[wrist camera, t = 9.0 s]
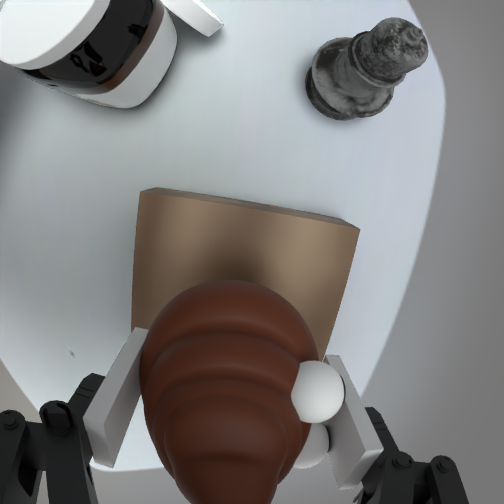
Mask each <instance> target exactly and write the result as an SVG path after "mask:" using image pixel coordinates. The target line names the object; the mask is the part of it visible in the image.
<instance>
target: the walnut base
mask: <svg viewBox="0 0 504 504" xmlns="http://www.w3.org/2000/svg"><path fill="white" fill-rule="evenodd" d="M359 232H360V229H359V228H357V227H355V226H354V225H352V224H350V223H348V222H346V221H344V220H342V219H339V218H334V217H329V216H324V215H319V214H314V213H309V212H304V211H299V210H293V209H288V208H283V207H277V206H272V205H266V204H260V203H255V202H249V201H243V200H237V199H231V198H225V197H218V196H212V195H206V194H199V193H192V192H185V191H179V190H171V189H164V188H153V189H149V190H145V191H141V192H140V198H139V207H138V216H137V226H136V237H135V250H134V265H133V285H132V324H131V333H132V332H133V330H134V328H135V327H138V328H142V329H147V330H149V329H150V327H151V325H152V323H153V321H154V320H155V318H156V317H157V315H158V314H159V312H160V311H161V310H162V309H163V308H164V306H165V305H166V304H167V303H168V302H170V301H171V300H172V299H173V298H174V297H176V296H177V295H178V294H180V293H181V292H183V291H185V290H187V289H189V288H191V287H193V286H196V285H198V284H202V283H205V282H210V281H216V280H240V281H247V282H251V283H255V284H258V285H261V286H264V287H266V288H268V289H270V290H272V291H274V292H276V293H278V294H279V295H281V296H282V297H283V298H285V299H286V300H287V301H288V302H289V303H291V304H292V305H293V306H294V307H295V309H296V310H297V311H298V312H299V313H300V315H301V316H302V317H303V319H304V320H305V322H306V324H307V325H308V327H309V329H310V331H311V333H312V336H313V338H314V341H315V344H316V347H317V351H318V355H319V360H318V361H320V362H322V360H323V357H324V355H325V352H326V349H327V346H328V343H329V339H330V336H331V333H332V330H333V327H334V324H335V321H336V317H337V314H338V311H339V307H340V304H341V301H342V297H343V294H344V290H345V287H346V283H347V279H348V276H349V272H350V268H351V264H352V261H353V257H354V253H355V249H356V245H357V241H358V236H359Z"/></svg>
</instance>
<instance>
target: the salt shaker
mask: <svg viewBox="0 0 504 504" xmlns="http://www.w3.org/2000/svg"><path fill="white" fill-rule="evenodd" d="M427 57H428V45H427V41H426V38H425V36H424V35H423V32H422V30H421V29H419V28H417V27H416V26H415V25H414V24H412V23H411V22H409V21H407V20H404V19H401V18H388V19H385V20H382V21H381V22H380V23H378V24H377V25H376V26H375V27H374V28H373V29H372V30H371V31H365V32H362V33H359V34H357V35H356V36H355V37H353V38H348V37H344V38H336V39H333V40H330V41H328V42H326V43H325V44H324V45H322V46H321V47H320V48H319V50H318V51H317V53H316V54H315V56H314V59H313V63H312V66H311V68H310V69H309V71H308V73H307V76H306V80H305V82H306V91H307V95H308V97H309V99H310V101H311V102H312V104H313V105H314V106H315V107H316V108H317V109H318V110H319V111H320V112H321V113H323V114H324V115H326V116H327V117H330V118H333V119H336V120H349V119H354V118H356V117H360V118H364V117H370V116H374V115H376V114H378V113H380V112H382V111H383V110H384V109H385V108H386V107H387V106H388V105H389V103H390V101H391V99H392V97H393V92H394V86H397V85H399V84H400V83H401V82H402V81H403V80H404V78H405V76H406V73H408V72H410V71H412V70H414V69H416V68H418V67H420V66H421V65H422V64H423V63H424V62H425V61H426V59H427Z"/></svg>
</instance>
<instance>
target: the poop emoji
mask: <svg viewBox="0 0 504 504" xmlns="http://www.w3.org/2000/svg"><path fill="white" fill-rule="evenodd" d="M318 360H319V355H318V351H317V347H316V344H315V341H314V338H313V336H312V333H311V331H310V329H309V327H308V325H307V324H306V322H305V320H304V319H303V317H302V316H301V315H300V313H299V312H298V311H297V310H296V309H295V307H294V306H293V305H292V304H291V303H289V302H288V301H287V300H286V299H285V298H283V297H282V296H281V295H279V294H278V293H276V292H274V291H272V290H270V289H268V288H266V287H264V286H261V285H258V284H255V283H251V282H247V281H240V280H216V281H210V282H205V283H202V284H198V285H196V286H193V287H191V288H189V289H187V290H185V291H183V292H181V293H180V294H178V295H177V296H176V297H174V298H173V299H172V300H171V301H170V302H168V303H167V304H166V305H165V306H164V308H163V309H162V310H161V311H160V312H159V314H158V315H157V317H156V318H155V320H154V321H153V323H152V325H151V327H150V329H149V331H148V333H147V336H146V338H145V341H144V345H143V348H142V353H141V359H140V370H139V377H140V389H141V395H142V400H143V404H144V415H145V420H146V425H147V428H148V431H149V434H150V437H151V439H152V442H153V444H154V446H155V448H156V451H157V454H158V456H159V458H160V460H161V462H162V464H163V465H164V467H165V469H166V470H167V471H168V472H169V474H170V475H171V476H172V477H173V479H175V482H176V484H177V486H178V488H179V490H180V491H181V493H182V494H183V495H184V496H185V498H186V499H187V500H188V501H189V502H190V503H191V504H270V503H271V501H272V499H273V497H274V495H275V491H276V488H277V485H278V484H279V483H280V482H281V481H282V480H283V479H284V478H285V477H286V476H287V474H288V473H289V471H290V470H291V468H292V467H295V468H309V467H312V466H314V465H316V464H317V463H319V462H320V461H321V460H322V459H323V458H324V457H325V456H326V454H327V453H328V452H329V450H330V445H331V440H330V434H329V431H328V429H327V427H326V426H324V425H323V424H322V423H321V422H323V421H325V420H328V419H329V418H331V417H332V416H334V415H335V414H336V413H337V412H338V410H339V409H340V407H341V405H342V404H343V403H344V401H345V397H346V388H345V383H344V380H343V378H342V376H341V375H339V374H338V373H337V371H336V370H335V369H334V368H332V367H331V366H329V365H328V364H326V363H323V362H320V361H318Z"/></svg>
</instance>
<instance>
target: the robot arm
mask: <svg viewBox="0 0 504 504" xmlns="http://www.w3.org/2000/svg"><path fill="white" fill-rule="evenodd" d="M148 331H149V330H147V329H142V328H138V327H135V328H134V330H133V332H132V333H131V335H130V336H129V338H128V340H127V341H126V343H125V345H124V346H123V348H122V350H121V351H120V353H119V355H118V356H117V358H116V360H115V362H114V363H113V365H112V367H111V368H110V370H109V372H108V374H107V375H106V377H105V376H101V375H98V374H94V373H91V374H90V375H88V376H87V377H85V378H84V379H83V380H82V382H81V383H80V385H79V387H78V388H77V389H76V391H75V393H74V394H73V396H72V397H71V399H70V400H69V402H68V403H65V402H63V401H58V400H55V401H49V402H47V403H45V404H44V405H43V406H42V407H41V408H40V411H39V415H40V417H41V420H42V423H35V422H28V421H25V418H24V416H23V415H22V414H21V413H20V412H17V411H14V410H6V411H3V412H1V413H0V504H36V502H37V496H38V491H39V485H40V481H41V476H42V471H46V478H47V489H48V497H49V504H98V500H97V496H96V491H95V487H94V482H93V478H92V472H91V467H90V464H89V463H90V460H91V458H92V456H93V458H94V461H95V463H98V464H101V465H104V466H107V467H111V468H113V467H114V464H115V461H116V458H117V456H118V453H119V450H120V447H121V445H122V442H123V439H124V437H125V434H126V431H127V428H128V426H129V423H130V421H131V418H132V415H133V413H134V410H135V408H136V405H137V402H138V400H139V397H140V395H141V389H140V377H139V370H140V359H141V353H142V348H143V345H144V341H145V338H146V336H147V333H148ZM323 363H326V364H328V365H329V366H331V367H332V368H334V369H335V370H336V371H337V373H338V374H339V375H341V376H342V378H343V380H344V383H345V388H346V397H345V401H344V403H343V404H342V405H341V407H340V409H339V410H338V412H337V413H336V414H335V415H334V416H332V417H331V418H329V419H328V420H325V421H323V422H321V423H322V424H323V425H324V426H326V427H327V429H328V431H329V434H330V440H331V445H330V450H329V452H328V454H329V457H330V461H331V464H332V467H333V471H334V475H335V478H336V482H337V485H338V488H339V490H343V489H352V488H356V487H357V485H358V484H359V483H360V482H361V481H362V484H363V489H362V490H361V491H360V492H359V494H358V495H357V496H356V497H355V498H354V500H353V502H354V503H355V502H356V501H357V499H358V502H357V504H469V502H468V499H467V496H466V493H465V490H464V487H463V484H462V481H461V478H460V475H459V472H458V470H457V467H456V465H455V463H454V461H453V460H451V459H450V458H449V457H447V456H441V455H440V456H436V457H434V458H433V459H432V460H431V462H430V463H425V462H415V461H414V460H413V459H412V457H411V456H410V455H408V454H407V453H404V452H402V451H399V449H398V447H397V445H396V444H395V441H394V439H393V437H392V436H391V434H390V432H389V430H388V428H387V426H386V424H385V423H384V420H383V418H382V416H381V414H380V413H379V412H378V411H377V410H375V409H374V408H373V407H364V406H363V404H362V402H361V399H360V397H359V395H358V393H357V391H356V389H355V387H354V385H353V383H352V381H351V379H350V377H349V375H348V373H347V371H346V369H345V367H344V364H343V362H342V360H341V358H340V356H339V355H325V357H324V360H323Z"/></svg>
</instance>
